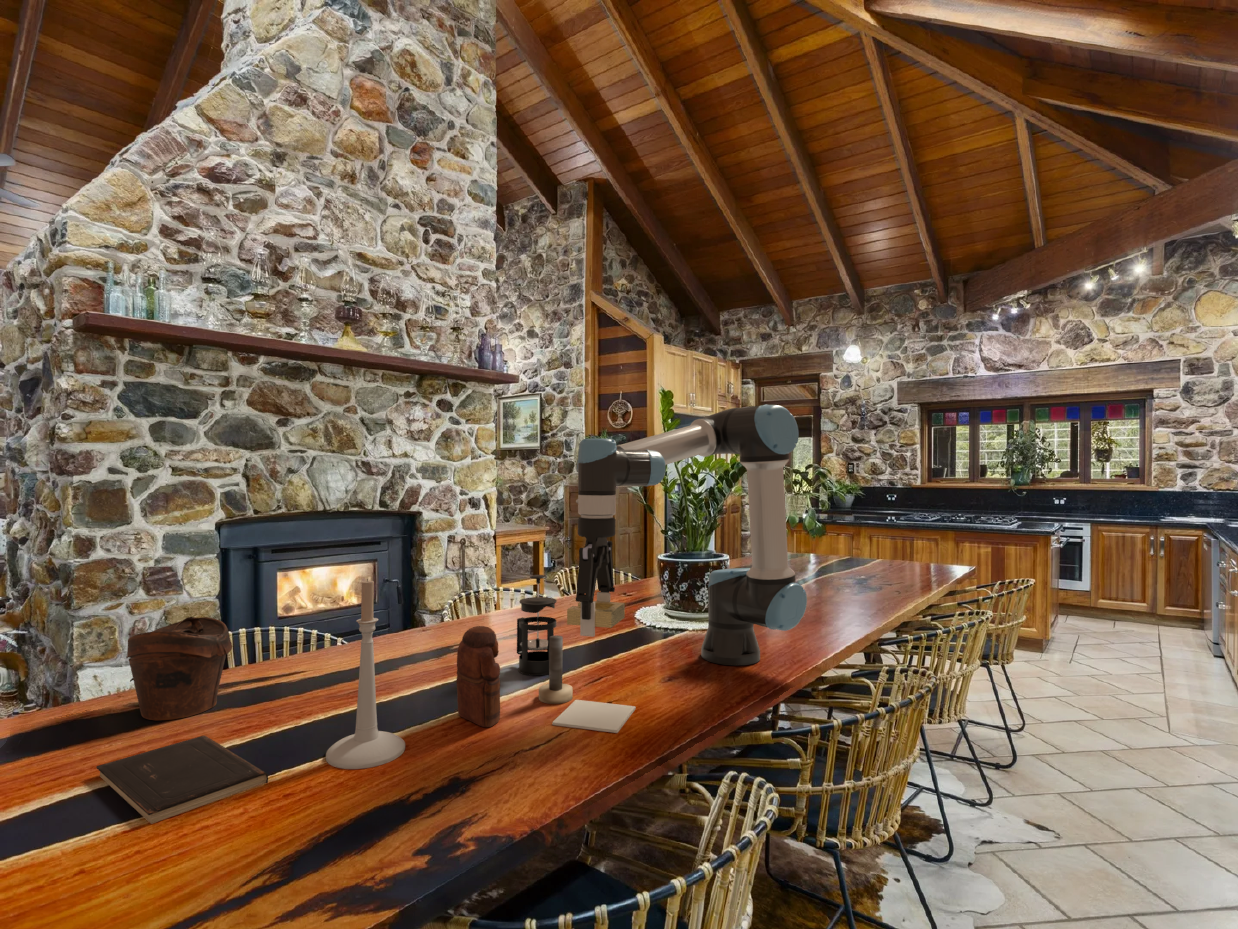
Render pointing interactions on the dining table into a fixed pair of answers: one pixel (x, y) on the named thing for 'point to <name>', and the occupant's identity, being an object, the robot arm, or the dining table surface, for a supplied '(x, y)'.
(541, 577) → the french press
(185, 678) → the case
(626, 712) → the felt mat
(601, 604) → the brass C-link
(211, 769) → the hardcover book
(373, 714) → the candlestick
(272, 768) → the dining table surface
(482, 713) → the wooden figurine
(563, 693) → the peg stand
